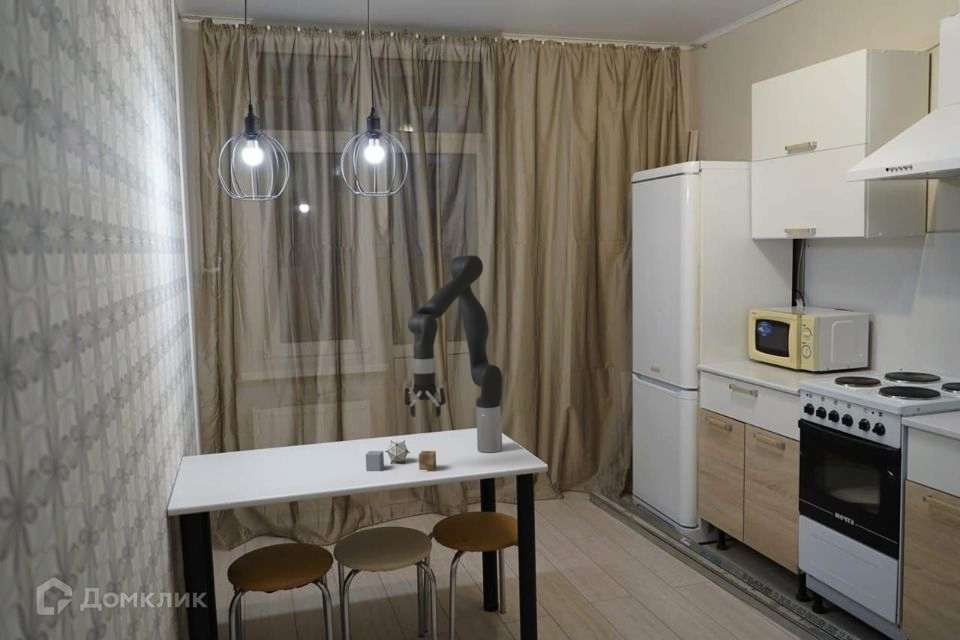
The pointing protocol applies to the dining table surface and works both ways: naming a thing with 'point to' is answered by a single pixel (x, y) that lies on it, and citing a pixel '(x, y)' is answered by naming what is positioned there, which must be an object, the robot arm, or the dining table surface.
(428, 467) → the walnut block
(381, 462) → the slate block
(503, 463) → the dining table surface
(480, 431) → the robot arm
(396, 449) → the game die
